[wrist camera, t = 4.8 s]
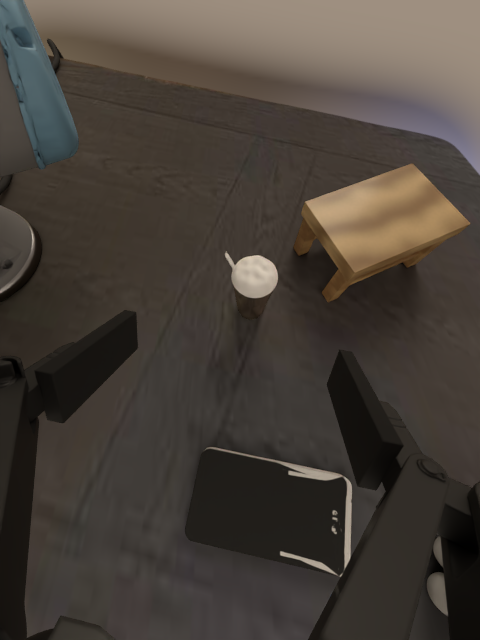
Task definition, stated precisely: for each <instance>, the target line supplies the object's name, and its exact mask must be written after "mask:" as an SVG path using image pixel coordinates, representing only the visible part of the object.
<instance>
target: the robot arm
mask: <svg viewBox="0 0 480 640" xmlns="http://www.w3.org/2000/svg"><path fill="white" fill-rule="evenodd" d="M47 42H48V44H49V46H50V47H51V49H52V52H53V54H54V59H53V61H52V63H50V60H49V58H48V55H47V53H46V50H45V48H44V46H43V43H42V41H41V39H40V36H39V34H38V32H37V29H36V27H35V25H34V22H33V20H32V18H31V16H30V13H29V11H28V9H27V7H26V4H25V2H24V0H0V177H2V178H1V180H0V195H1V193H2V192H3V191H4V190H5V189H6V188H7V187H8V185H9V183H10V181H11V177H12V174H14V173H18V172H22V171H26V170H29V169H33V168H37V167H39V169H44V168H45V167H46V165H49V164H52V163H55V162H58V161H61V160H64V159H67V158H70V157H72V156H73V155H74V154H75V153H76V152H77V149H78V142H79V141H78V135H77V131H76V128H75V125H74V122H73V119H72V116H71V113H70V111H69V108H68V105H67V103H66V100H65V97H64V95H63V92H62V90H61V87H60V85H59V82H58V80H57V77H56V75H55V71H56V69H57V68H58V66H59V62H60V58H63V56H62V55H61V53H60V51H59V50H58V48H57V47H56V46H55V44H54V43H53V41H52V40H50V39H48V40H47ZM63 59H64V58H63ZM41 251H42V244H41V239H40V236H39V234H38V232H37V231H36V229H35V228H34V227H33V226H32V225H31V224H30V223H28V222H27V221H26V220H25V219H24V218H23V217H22V216H20V215H19V214H17V213H15V212H14V211H12V210H10V209H8V208H5V207H3V206H1V205H0V302H1V301H3V300H4V299H6V298H8V297H9V296H11V295H12V294H14V293H15V292H16V291H17V290H19V289H20V288H21V287H22V286H23V285H24V284H25V283H26V282H27V281H28V279H29V278H30V277H31V276H32V274H33V273H34V271H35V269H36V268H37V265H38V263H39V260H40V257H41ZM137 348H138V342H137V320H136V312H132V311H127V310H124V311H123V312H121V313H120V314H118V315H117V316H115V317H114V318H112V319H111V320H109V321H108V322H106V323H105V324H103V325H102V326H100V327H99V328H97V329H96V330H94V331H93V332H91V333H90V334H88V335H87V336H85V337H84V338H82V339H81V340H79V341H78V342H76V343H74V342H72V343H69V344H67V345H64V346H61V347H60V348H58V349H57V350H55V351H54V352H53V353H50V354H49V355H47V356H46V358H45V357H44V358H43V359H41V360H40V361H38V362H36V363H35V364H33V365H32V366H30V367H29V368H27V369H25V370H24V369H23V365H22V362H21V359H20V358H18V357H15V356H4V357H0V640H115V639H114V638H113V637H112V636H111V635H109V634H108V633H107V632H106V631H105V630H104V629H102V628H101V627H100V626H99V625H95V624H91V623H87V622H83V621H80V620H76V619H72V618H68V617H64V616H60V618H59V619H58V621H57V623H56V625H55V627H54V629H49V630H46V631H43V632H40V633H37V634H35V635H33V636H31V637H29V638H27V627H26V616H25V606H24V599H25V585H26V573H27V561H28V549H29V537H30V525H31V513H32V501H33V489H34V477H35V464H36V452H37V440H38V428H39V420H38V416H39V415H40V414H41V413H42V412H43V411H44V410H45V413H46V417H47V420H50V421H55V422H59V423H64V422H65V421H66V420H67V419H68V418H69V417H70V416H71V415H72V414H73V413H74V412H75V411H76V410H77V409H78V408H79V407H80V406H81V405H82V404H83V403H84V402H85V401H86V400H87V399H88V398H89V397H90V396H91V395H92V394H93V393H94V392H95V391H96V390H97V389H98V388H99V387H100V386H101V385H102V384H103V383H104V382H105V381H106V380H107V379H108V378H109V377H110V376H111V375H112V374H113V373H114V372H115V371H116V370H117V369H118V368H119V367H120V366H121V365H122V364H123V363H124V362H125V361H126V360H127V359H128V358H129V357H130V356H131V355H132V354H133V353H134V352H135V351H136V350H137ZM327 387H328V390H329V394H330V397H331V400H332V404H333V407H334V410H335V413H336V417H337V420H338V423H339V427H340V430H341V433H342V437H343V440H344V443H345V446H346V450H347V453H348V456H349V460H350V463H351V466H352V469H353V473H354V476H355V479H356V483H357V486H358V487H362V488H367V489H372V490H377V488H378V487H379V485H380V484H381V482H382V483H383V485H384V488H385V490H386V492H385V494H384V495H383V497H382V498H381V500H380V501H379V503H378V505H377V506H376V510H375V512H374V514H373V516H372V518H371V520H370V522H369V524H368V526H367V528H366V530H365V531H364V533H363V535H362V537H361V539H360V541H359V543H358V545H357V547H356V549H355V551H354V553H353V554H352V556H351V558H350V560H349V562H348V564H347V566H346V568H345V570H344V572H343V574H342V576H341V577H340V579H339V581H338V583H337V585H336V587H335V589H334V591H333V593H332V595H331V597H330V599H329V600H328V602H327V604H326V606H325V608H324V610H323V612H322V614H321V616H320V618H319V620H318V621H317V623H316V625H315V627H314V629H313V631H312V633H311V635H310V637H309V639H308V640H408V639H409V636H410V632H411V628H412V624H413V620H414V617H415V613H416V609H417V605H418V602H419V598H420V594H421V590H422V587H423V583H424V579H425V575H426V572H427V568H428V564H429V560H430V557H431V553H432V549H433V545H434V542H435V538H436V534H438V535H440V538H441V549H442V560H443V570H444V581H445V591H446V602H447V612H448V623H449V633H450V640H480V482H478V483H476V484H475V485H474V487H473V488H471V487H469V486H466V485H464V484H462V483H460V482H458V481H455V480H453V479H451V478H449V477H448V475H447V473H446V471H445V470H444V469H443V468H442V467H441V466H440V465H439V464H438V463H437V462H435V461H434V460H433V459H431V458H429V457H427V456H425V455H423V454H422V452H421V450H420V449H419V447H418V445H417V444H416V442H415V441H414V439H413V437H412V436H411V434H410V432H409V431H408V429H406V426H405V424H404V423H403V422H402V419H401V418H400V416H399V414H398V413H397V411H396V410H395V409H394V408H393V407H392V406H391V405H390V404H389V403H387V402H382V401H379V400H378V398H377V396H376V394H375V392H374V391H373V389H372V387H371V385H370V383H369V382H368V380H367V378H366V376H365V374H364V373H363V371H362V369H361V367H360V365H359V364H358V362H357V360H356V358H355V356H354V355H353V353H352V352H350V351H345V350H339V352H338V355H337V358H336V361H335V363H334V366H333V369H332V371H331V374H330V377H329V380H328V382H327Z"/></svg>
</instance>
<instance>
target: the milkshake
mask: <svg viewBox="0 0 480 640" xmlns="http://www.w3.org/2000/svg"><path fill="white" fill-rule="evenodd" d="M225 257H226V259H227V260H228V262H229V264H230V265H231V267H232V269H233V271H232V275H231V278H232V283H233V287H234V291H235V297H236V302H237V308H238V311H239V313H240V314H241V316H242V317H244V318H246V319H248V320H252V319H257V318H258V317H259V316H260V315H261V314H262V313H263V311H264V309H265V307H266V304H267V302H268V300H269V298H270V296H271V294H272V292H273V290H274V289H275V287H276V285H277V281H278V274H277V270H276V267H275V266H274V264H273V263H272V262H271V261H269V260H268V259H266V258H264V257H262V256H259V255H255V256H250V257H245V258H243V259H241V260H240V261H238V263H237V264H236V265H234V263H233V261H232V260H231V258H230V256H229V254H228V253H227V251H226V253H225Z"/></svg>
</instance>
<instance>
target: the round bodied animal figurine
mask: <svg viewBox="0 0 480 640" xmlns="http://www.w3.org/2000/svg"><path fill="white" fill-rule="evenodd" d="M433 552H434V555H435V557H436V559H437V561H438V562H439V564H440V565H441V566H442V567H443V560H442V549H441V538H440V536H439V537H438V538H436V540H435V542H434V545H433ZM427 590H428V593H429V596H430V598H431V600H432V601H433V603H434V604H435V605H436V607H437V608H438V609H439V610H440V611H441V612H443V613H444V614H445V615H447V616H448V612H447V602H446V591H445V581H444V573H441V572H435V573H433V574H431V575H430V576H429V577H428V579H427Z"/></svg>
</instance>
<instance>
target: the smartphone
mask: <svg viewBox="0 0 480 640" xmlns="http://www.w3.org/2000/svg"><path fill="white" fill-rule="evenodd" d="M351 505H352V486H351V483H350V481H349V480H348V479H347V478H345V477H344V476H342V475H341V474H338V473H333V472H329V471H324V470H319V469H315V468H310V467H305V466H300V465H296V464H291V463H286V462H281V461H277V460H272V459H267V458H262V457H258V456H253V455H248V454H244V453H239V452H234V451H229V450H225V449H220V448H215V447H208V448H206V449H205V450H204V451H203V453H202V454H201V457H200V462H199V466H198V471H197V476H196V480H195V485H194V490H193V494H192V499H191V504H190V508H189V513H188V518H187V522H186V527H185V533H186V536H187V538H188V539H189V540H190V541H193V542H197V543H201V544H206V545H210V546H214V547H218V548H223V549H227V550H231V551H235V552H239V553H244V554H248V555H252V556H256V557H260V558H265V559H269V560H273V561H277V562H282V563H286V564H290V565H294V566H298V567H303V568H307V569H311V570H315V571H319V572H324V573H328V574H332V575H336V576H342V574H343V572H344V570H345V568H346V566H347V564H348V562H349V560H350V546H351Z"/></svg>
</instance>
